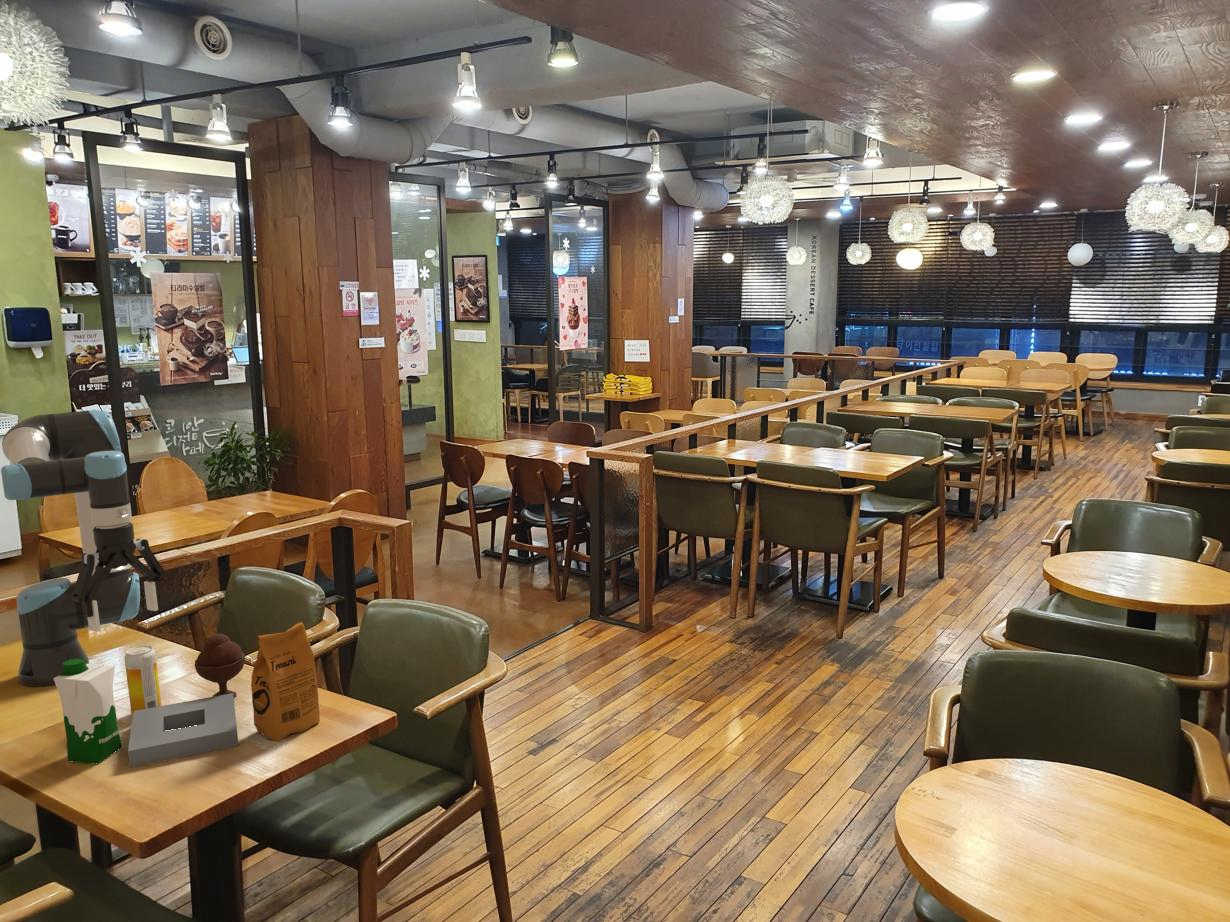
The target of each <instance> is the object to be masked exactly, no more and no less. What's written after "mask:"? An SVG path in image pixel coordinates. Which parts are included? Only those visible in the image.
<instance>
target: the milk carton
mask: <svg viewBox="0 0 1230 922" xmlns="http://www.w3.org/2000/svg"><path fill="white" fill-rule="evenodd" d="M63 671H64V672H63V673H62V674H60V675H58V676H57V677H55V678H54V682H55V684H54V685H55V686H56V687H55V688H56V689H57V692H58V694H59V697H60V701H61V707H62V708H61V709H62V716H63V722H64V730H65V731H64V732H65V736H66V737H65V738H66V753H67V762H68V761H73V762H72V763H79V762H84V763H83V764H91V763H95V764H94V765H99V764H100V762H101V761H102V762H103V760H104V759H105V760H107V759H108V758H110V757H111V756H112V755H111V754H113V753H114V752H115V751H117V750H118V749H120V748H121V747H122V746H123V742H122V739H121V735H120V730H119V727H118V725H119V724H118V717H117V710H116V703H115V702H116V701H115V696H114V694H115V693H114V679H115V678H114V676H115V665H105V664H102V663H100V664H96V663H89V664H86V660H85V658H74V659H70V660H67V661H65V662H63ZM121 749H122V748H121ZM121 749H120V750H121ZM118 751H119V750H118ZM118 751H117V752H118ZM115 753H116V752H115ZM115 753H114V754H115ZM114 754H113V755H114ZM110 755H111V756H110ZM109 756H110V757H109ZM107 757H108V758H107ZM106 758H107V759H106ZM105 760H104V761H105ZM102 762H101V763H102ZM96 763H97V764H96Z"/></svg>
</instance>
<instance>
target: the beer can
mask: <svg viewBox="0 0 1230 922" xmlns="http://www.w3.org/2000/svg"><path fill="white" fill-rule="evenodd" d="M123 658H124V664H125V665H124V666H125V672H126V673H125V674H126V681H127V690H128V697H129V705H130V706H129V707H130V713H131V715H132V716H133V713H134V711H137V710H143V709H148V708H154V707H159V706H163V705H162V699H161V698H162V697H161V691H160V683H159V682H160V681H159V673H158V667H157V666H158V665H157V664H158V663H157V658H156V651H155V650H154V647H153V646H151V645H139V646H133V647H131V648H129V649H127V650H126V651H125V655H124V657H123Z"/></svg>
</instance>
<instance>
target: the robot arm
mask: <svg viewBox="0 0 1230 922" xmlns="http://www.w3.org/2000/svg"><path fill="white" fill-rule="evenodd" d="M1 442H2V443H1V445H2V452H3V455H4V456H5V458H6V459H7V460H8V461H9V464H7V465H4V466H2V467H1V468H0V475H1V481H2V482H1V483H2V488H3V494H4V498H5V499H6V500H8V501H18V500H19V501H20V500H21V501H22V500H23V501H27V500H30V499H38V498H45V497H54V496H61V495H71V494H74V497H75V498H74V499H75V504H76V505H75V506H76V512H77V520H78V527H79V533H80V540H81V548H82V554H81V565H80V569H79V573H78V575H77V579H76V582H74V583H73V582H71V581H70V579H69V578H67V577H61V578H59V577H58V578H56V577H55V578H50V579H46V580H43V581H40V582H36V583H34V584H32V585H29V586H27V587H25V588H23V589H22V590H21V591H19V592H18V594H17V596H16V607H17V609H16V614H17V615H18V621H19V626H20V628H19V629H20V635H21V641H22V642H21V643H22V649H23V650H22V654H21V659H20V662H19V663H20V664H19V667H18V672H17V675H18V681H19V683H20V684H21V685H23V686H28V687H45V686H50V685H51V686H52V685H56V684H55V682H54V678H55V677H57V676H58V675H60V674H62V673H63V672H64V671H63V662H65V661H67V660H70V659H74V658H85V660H86V664H90V661H89V660H90V659H89V657H88V655H87V654H86V652H85V650H84V648H83V646H82V645H81V643H80V641H79V638H78V633H77V632H78V631H77V630H83V629H87V628H88V630H89V631H93V632H95V633H96V632H100V631H101V626H102V625H103V626H104V625H109V624H112V623H113V624H114V623H117V624H118V623H120V622H123V621H128V620H132V619H134V618H136V616H137V615H138V614H139V610H140V605H141V603H140V602H141V590H140V589H141V586H140V585H141V584H140V576H139V574H140V575H142V576H143V577H144V578H146V580H145V581H143V585H144V586H143V587H144V594H145V595H144V596H145V603H146V610H148V611H152V612H157V611H159V605H158V598H157V597H158V596H157V595H159V593H160V590H159V589H160V588H159V582H161V580H162V577H164V576H165V575H166V571H165V569H164V568H163V566H162V565H161V563H160V562H159V560H158V559H157V557H156V555H155V554H154V553H153V551H152V549H151V548H150V544H149V541H148V539H144V538H137V539H136V541H135V540H134V539H135V530H134V524H133V523H132V521H133V516H132V508H131V500H130V499H131V498H130V493H129V482H128V474H127V473H128V472H127V470H128V468H127V467H128V465H127V464H126V459H125V455H124V453H123V452H122V447H121V444H120V443H121V441H120V437H119V434H118V431H117V428H116V425H115V422H114V419H113V417H112V415H111V414H110V413H109V412H108V411H106V410H102V409H101V410H99V409H98V410H79V411H71V412H60V413H59V412H58V413H44V414H43V413H42V414H39V415H38V414H37V415H33V416H30V417H27V418H25V419H23V420H21V421H19V422H18V423H16V424H14V425H13V426H12V427H10V428H9V430H7V431H6V433H5V434H4V435H3V439H2V441H1ZM136 550H137V551H138V553H139V554H140V555H141V557H142V559H143V560H144V562H145V563H146V564H147V565H148V566H146V564H144V563H143V562H141V560H140V559H139V558H138V556H136V555H135V554H134V553H135V551H136ZM131 567H132V568H133V569H134V570H135V571H137V572H138V573H139V574H138V573H137V572H132V568H131Z"/></svg>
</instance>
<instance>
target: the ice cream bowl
mask: <svg viewBox="0 0 1230 922" xmlns="http://www.w3.org/2000/svg"><path fill="white" fill-rule="evenodd" d="M245 661H246V654H245V652H243V651H242V648H241V646H240V644H238V643H236V642H234V641H231V638H229V636H228V635H226V634H224V633H214V634H212V635H210V636H209V637H208V638H207V639H206V640H205V642H204V644H203V650H202V651H200V652H199V654H198V655H197V658H196V659H195V660H194V668H195V670H196V673H197V674H198V676H199V677H201V678H202V679H203V680H205V681H208V682H211V683H215V684H218V689H219V691H217V692H216V693H214V694H213V695H212V696H211V697H214V696H220V695H225V694H231V693H233V696H234V699H236V698H237V693H236V691H233V690H230V689H228V686H227V685H228V684H227V683H228V681H230V680H232V679H233V678H235V677H236V676H237V675H239V674H240V672H242V670H243V668H244V665H245ZM235 697H236V698H235Z"/></svg>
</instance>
